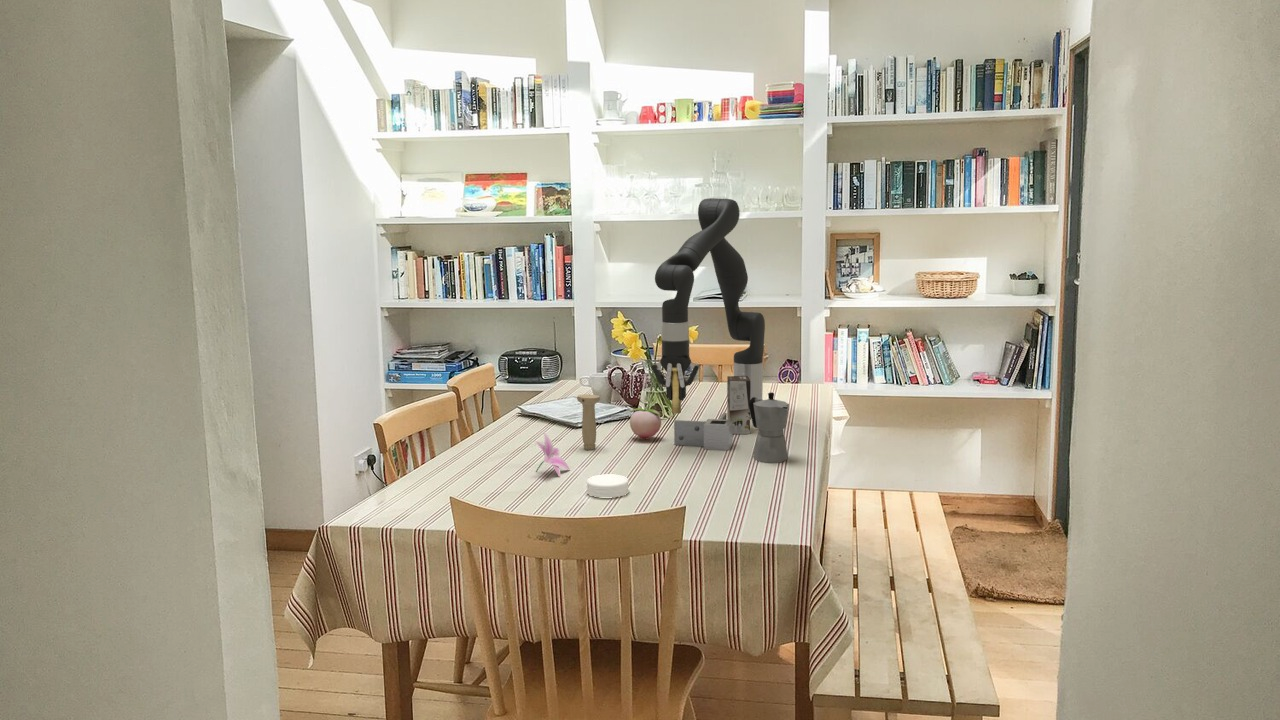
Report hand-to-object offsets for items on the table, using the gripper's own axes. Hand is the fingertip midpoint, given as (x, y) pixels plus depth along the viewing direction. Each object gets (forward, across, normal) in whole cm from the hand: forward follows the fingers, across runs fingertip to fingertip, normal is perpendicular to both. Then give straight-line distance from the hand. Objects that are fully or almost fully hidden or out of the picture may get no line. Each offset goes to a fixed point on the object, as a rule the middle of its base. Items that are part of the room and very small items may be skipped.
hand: (676, 399), depth 268 cm
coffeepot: (+14, -26, +5) cm, 30 cm away
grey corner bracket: (+14, -6, -9) cm, 18 cm away
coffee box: (+15, -14, -25) cm, 32 cm away
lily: (+14, +27, +30) cm, 43 cm away
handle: (+14, +24, +4) cm, 28 cm away
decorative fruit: (+14, +11, -9) cm, 20 cm away
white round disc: (+14, +8, +43) cm, 46 cm away
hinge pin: (+4, 0, 0) cm, 4 cm away
